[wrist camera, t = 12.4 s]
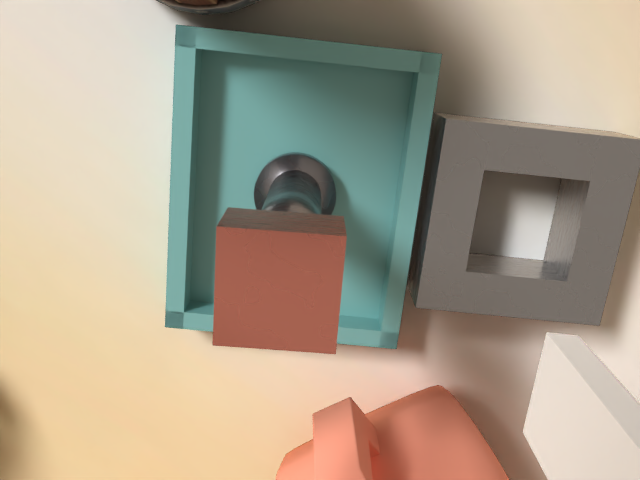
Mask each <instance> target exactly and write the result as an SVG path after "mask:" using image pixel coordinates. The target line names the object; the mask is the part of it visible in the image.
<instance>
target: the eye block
mask: <svg viewBox="0 0 640 480" xmlns="http://www.w3.org/2000/svg"><path fill="white" fill-rule="evenodd" d="M639 169H640V138H636V137H632V136H628V135H624V134H620V133H616V132H610V131H601V130H592V129H582V128H573V127H564V126H554V125H545V124H536V123H526V122H517V121H508V120H498V119H489V118H480V117H470V116H461V115H452V114H442V113H433V119H432V125H431V132H430V138H429V145H428V151H427V158H426V164H425V170H424V177H423V183H422V190H421V196H420V203H419V209H418V216H417V222H416V229H415V235H414V242H413V248H412V254H411V261H410V267H409V274H408V280H407V286H408V289H409V291H410V294H411V297H412V299H413V302H414V304H415V307H416V308H423V309H434V310H444V311H454V312H465V313H475V314H485V315H495V316H506V317H516V318H526V319H537V320H547V321H557V322H568V323H578V324H588V325H598V326H599V325H600V321H601V318H602V314H603V310H604V306H605V302H606V298H607V294H608V290H609V286H610V282H611V278H612V274H613V271H614V267H615V263H616V259H617V255H618V251H619V247H620V243H621V239H622V235H623V231H624V227H625V224H626V220H627V216H628V212H629V208H630V204H631V200H632V196H633V192H634V188H635V184H636V180H637V177H638V173H639ZM484 170H488V171H498V172H507V173H517V174H526V175H536V176H546V177H555V178H562V179H561V184H560V188H559V193H558V197H557V202H556V206H555V211H554V216H553V220H552V225H551V229H550V234H549V238H548V243H547V247H546V252H545V256H544V261H543V260H533V259H523V258H514V257H504V256H494V255H484V254H474V253H469V251H470V245H471V240H472V234H473V229H474V223H475V218H476V213H477V207H478V202H479V196H480V191H481V185H482V180H483V174H484Z"/></svg>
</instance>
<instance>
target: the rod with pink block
mask: <svg viewBox="0 0 640 480" xmlns="http://www.w3.org/2000/svg"><path fill="white" fill-rule="evenodd" d="M254 202H255V206H256V209H244V208H231V207H228V208H227V210H226V212H225V213H224V215H223V216H222V218H221V220H220V221H219V223H218V225H217V226H216V254H215V285H214V317H213V345H216V346H230V347H245V348H259V349H273V350H287V351H301V352H315V353H329V354H336V345H337V335H338V324H339V314H340V303H341V293H342V282H343V272H344V261H345V250H346V240H347V234H346V227H345V221H344V216H336V215H331V214H332V212H333V210H334V207H335V203H336V188H335V183H334V179H333V177H332V174H331V173H330V171H329V169H328V168H327V167H326V166H325V165H324V164H323V163H322V162H321V161H320V160H319V159H317V158H315V157H314V156H311V155H309V154H305V153H300V152H291V153H285V154H282V155H279V156H277V157H275V158H274V159H272V160H271V161H269V162H268V163H267V164H266V165H265V167H264V168H263V169H262V171H261V172H260V174H259V176H258V178H257V181H256V183H255V187H254Z"/></svg>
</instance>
